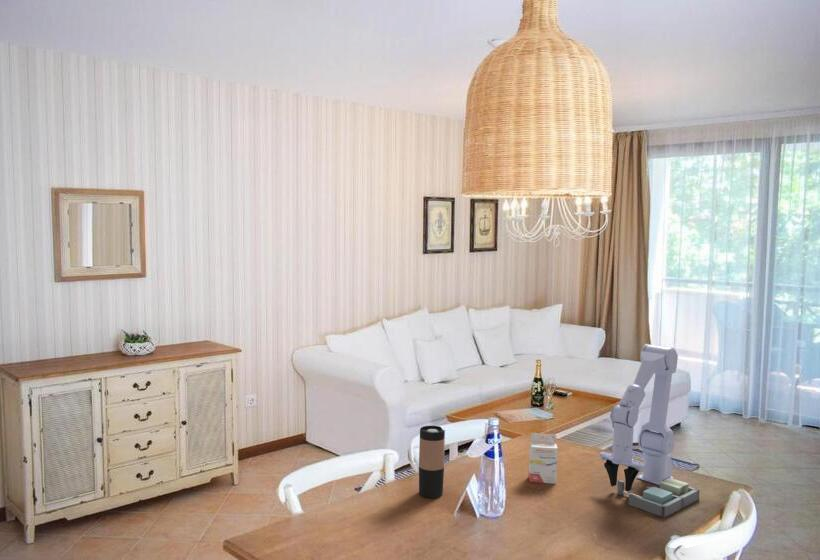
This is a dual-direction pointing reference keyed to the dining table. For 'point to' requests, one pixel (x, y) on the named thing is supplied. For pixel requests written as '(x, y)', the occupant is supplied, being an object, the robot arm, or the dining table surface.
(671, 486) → the sage block
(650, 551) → the dining table surface
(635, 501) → the lane rack
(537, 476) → the ink cartridge box
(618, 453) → the robot arm
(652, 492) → the teal block with cord
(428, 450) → the travel mug
